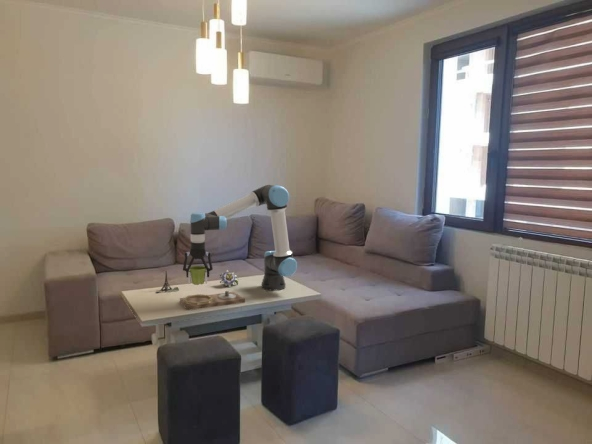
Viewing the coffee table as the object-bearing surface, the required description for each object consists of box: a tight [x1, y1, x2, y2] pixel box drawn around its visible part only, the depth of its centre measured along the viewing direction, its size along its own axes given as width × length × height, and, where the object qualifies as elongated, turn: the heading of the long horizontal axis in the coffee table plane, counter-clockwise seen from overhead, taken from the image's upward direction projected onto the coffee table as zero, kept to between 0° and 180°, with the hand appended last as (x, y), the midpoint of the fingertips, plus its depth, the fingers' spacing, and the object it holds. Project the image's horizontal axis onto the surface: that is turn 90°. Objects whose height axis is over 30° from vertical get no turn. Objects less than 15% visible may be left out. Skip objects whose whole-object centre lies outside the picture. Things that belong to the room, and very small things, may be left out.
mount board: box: [179, 290, 246, 311], centre depth 254 cm, size 32×16×5 cm, turn 119°
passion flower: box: [219, 269, 239, 288], centre depth 290 cm, size 11×11×12 cm
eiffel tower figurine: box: [160, 270, 180, 293], centre depth 277 cm, size 15×10×13 cm
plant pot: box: [189, 265, 207, 286], centre depth 249 cm, size 9×9×9 cm
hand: (197, 283), depth 249 cm, fingers closed on plant pot, 8 cm apart
